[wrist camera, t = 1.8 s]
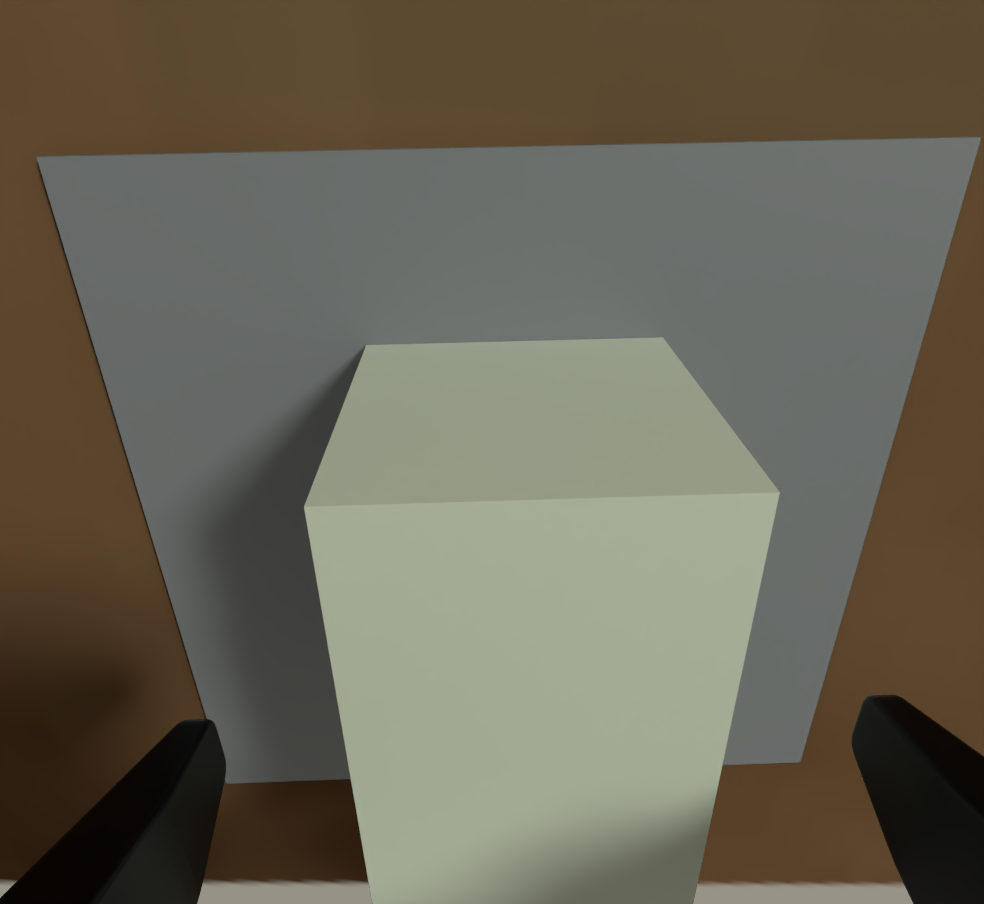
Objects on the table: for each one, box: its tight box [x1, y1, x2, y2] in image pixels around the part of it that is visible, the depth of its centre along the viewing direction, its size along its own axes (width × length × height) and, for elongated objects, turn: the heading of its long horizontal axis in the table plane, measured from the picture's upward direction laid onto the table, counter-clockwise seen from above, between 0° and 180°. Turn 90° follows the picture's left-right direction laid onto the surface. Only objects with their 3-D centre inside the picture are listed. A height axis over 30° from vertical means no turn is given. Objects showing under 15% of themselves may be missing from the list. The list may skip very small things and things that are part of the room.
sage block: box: [304, 337, 780, 904], centre depth 11 cm, size 5×8×5 cm, turn 1°
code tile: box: [37, 137, 981, 784], centre depth 14 cm, size 14×14×1 cm
